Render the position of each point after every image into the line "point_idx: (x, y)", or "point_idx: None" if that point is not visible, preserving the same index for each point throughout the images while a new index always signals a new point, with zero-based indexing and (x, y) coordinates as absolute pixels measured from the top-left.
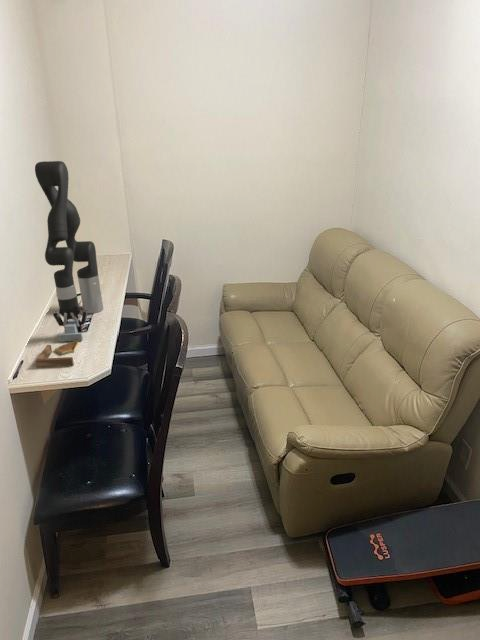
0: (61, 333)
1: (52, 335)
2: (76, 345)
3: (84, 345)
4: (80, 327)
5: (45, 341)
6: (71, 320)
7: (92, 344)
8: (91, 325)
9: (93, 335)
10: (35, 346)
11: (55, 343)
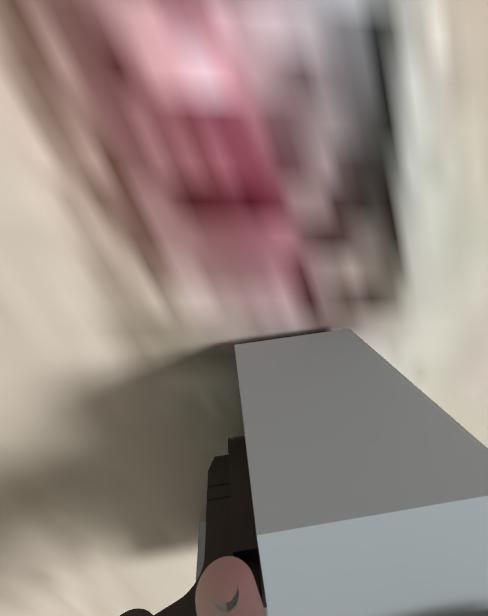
0: None
1: (23, 413)
2: None
3: None
4: None
5: (46, 530)
6: (341, 604)
7: None
8: (423, 83)
9: (479, 391)
10: (21, 605)
11: (171, 550)
